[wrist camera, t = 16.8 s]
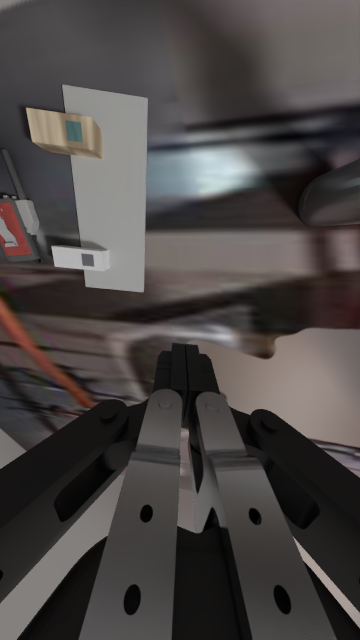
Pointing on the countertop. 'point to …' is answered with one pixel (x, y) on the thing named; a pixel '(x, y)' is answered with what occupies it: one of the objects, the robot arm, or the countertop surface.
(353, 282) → the countertop surface
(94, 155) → the beech block
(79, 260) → the grey block
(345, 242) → the countertop surface
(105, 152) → the mat
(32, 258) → the walkie-talkie
